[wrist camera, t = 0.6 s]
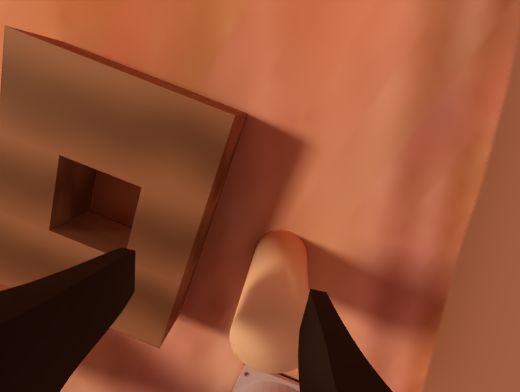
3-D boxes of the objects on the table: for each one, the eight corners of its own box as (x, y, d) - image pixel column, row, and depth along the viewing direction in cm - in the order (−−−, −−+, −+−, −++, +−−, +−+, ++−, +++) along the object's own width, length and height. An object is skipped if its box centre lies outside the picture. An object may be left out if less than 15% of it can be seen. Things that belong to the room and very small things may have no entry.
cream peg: (295, 283, 24) (292, 384, 15) (248, 265, 24) (219, 355, 15) (315, 241, 22) (324, 326, 14) (266, 222, 22) (244, 294, 14)
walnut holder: (179, 312, 26) (159, 348, 22) (33, 254, 26) (-12, 279, 22) (247, 113, 20) (235, 115, 16) (59, 40, 20) (4, 25, 17)
